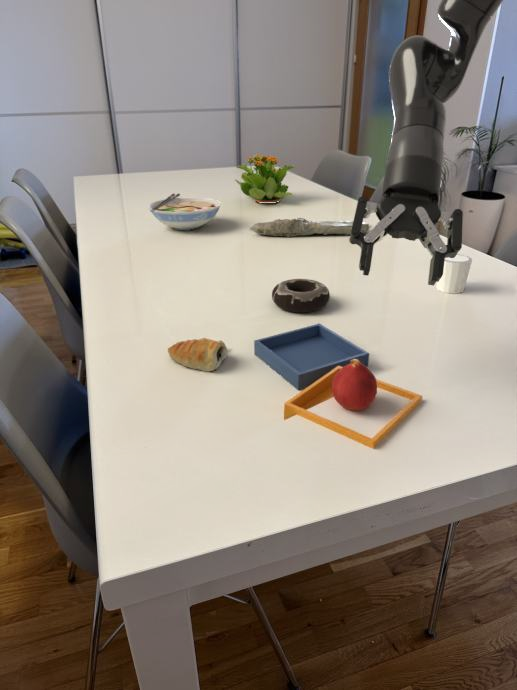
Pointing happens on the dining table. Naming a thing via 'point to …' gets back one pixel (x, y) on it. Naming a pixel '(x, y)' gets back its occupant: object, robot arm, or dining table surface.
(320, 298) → the donut
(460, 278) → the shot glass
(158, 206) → the ramen bowl
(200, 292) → the dining table surface
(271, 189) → the potted flower
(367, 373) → the onion
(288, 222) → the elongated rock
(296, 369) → the blue tray
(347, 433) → the amber tray
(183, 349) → the pastry
